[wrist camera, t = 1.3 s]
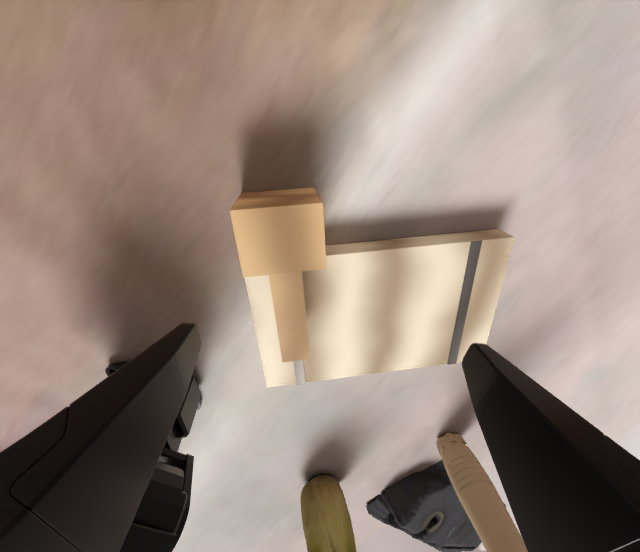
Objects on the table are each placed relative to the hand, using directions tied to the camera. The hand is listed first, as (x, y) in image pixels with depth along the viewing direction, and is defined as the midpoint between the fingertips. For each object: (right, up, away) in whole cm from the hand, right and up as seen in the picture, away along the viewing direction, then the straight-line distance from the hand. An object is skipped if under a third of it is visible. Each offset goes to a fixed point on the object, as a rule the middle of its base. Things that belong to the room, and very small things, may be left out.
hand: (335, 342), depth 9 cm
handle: (+15, -18, +26) cm, 35 cm away
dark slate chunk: (+17, -32, +34) cm, 50 cm away
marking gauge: (-3, +3, +13) cm, 14 cm away
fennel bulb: (0, -24, +27) cm, 36 cm away
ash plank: (+4, 0, +16) cm, 16 cm away
